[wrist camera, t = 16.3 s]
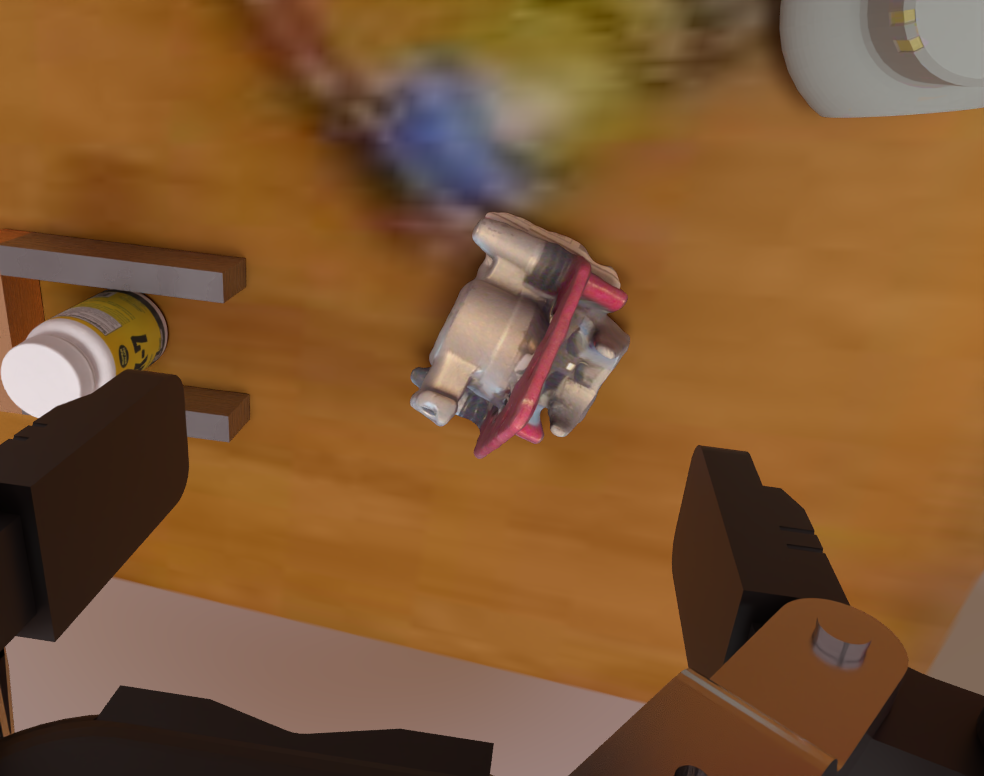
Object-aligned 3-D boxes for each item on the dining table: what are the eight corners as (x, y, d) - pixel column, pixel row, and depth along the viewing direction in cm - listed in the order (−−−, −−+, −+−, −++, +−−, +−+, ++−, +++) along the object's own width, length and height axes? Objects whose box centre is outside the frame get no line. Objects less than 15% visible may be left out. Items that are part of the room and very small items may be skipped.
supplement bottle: (157, 378, 47) (73, 445, 39) (81, 341, 46) (-19, 401, 39) (181, 310, 45) (98, 365, 37) (102, 270, 44) (2, 318, 37)
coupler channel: (4, 228, 44) (-34, 241, 41) (245, 258, 43) (222, 273, 41) (28, 389, 48) (-5, 410, 45) (249, 419, 47) (229, 442, 44)
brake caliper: (594, 487, 44) (449, 525, 35) (467, 371, 49) (312, 376, 40) (708, 312, 39) (576, 301, 30) (555, 205, 45) (403, 168, 35)
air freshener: (762, 114, 38) (819, 136, 29) (770, -86, 35) (836, -133, 26) (1010, 93, 36) (1153, 110, 27) (1042, -118, 33) (1216, -179, 24)
